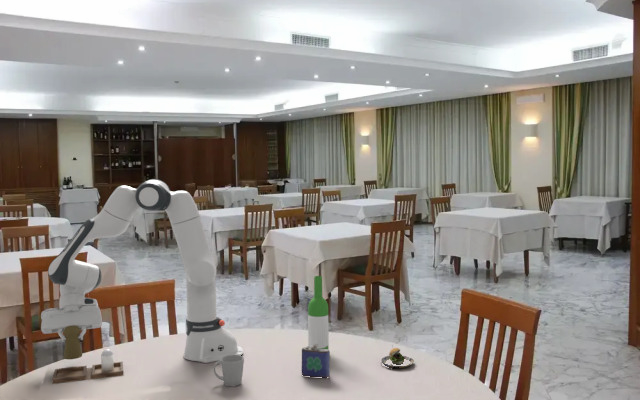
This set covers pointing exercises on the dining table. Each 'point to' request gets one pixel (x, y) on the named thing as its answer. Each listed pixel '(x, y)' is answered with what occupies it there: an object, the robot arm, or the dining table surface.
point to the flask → (315, 362)
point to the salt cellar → (107, 361)
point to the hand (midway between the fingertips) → (72, 340)
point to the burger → (396, 358)
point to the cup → (231, 369)
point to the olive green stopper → (72, 343)
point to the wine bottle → (318, 318)
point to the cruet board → (85, 373)
